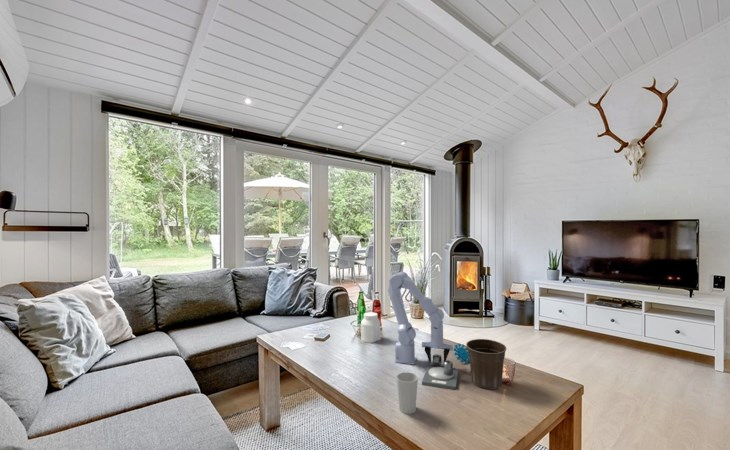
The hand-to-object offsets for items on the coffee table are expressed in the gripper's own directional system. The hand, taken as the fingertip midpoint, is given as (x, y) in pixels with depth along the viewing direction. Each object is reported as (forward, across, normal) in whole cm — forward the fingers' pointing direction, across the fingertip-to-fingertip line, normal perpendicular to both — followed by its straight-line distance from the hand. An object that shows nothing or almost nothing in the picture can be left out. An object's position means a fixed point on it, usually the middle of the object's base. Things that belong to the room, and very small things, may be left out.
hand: (437, 363), depth 160 cm
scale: (+1, +3, -12) cm, 12 cm away
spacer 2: (-1, +6, -11) cm, 12 cm away
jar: (+2, -42, +25) cm, 49 cm away
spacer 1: (+2, 0, 0) cm, 2 cm away
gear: (+2, +12, +11) cm, 16 cm away
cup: (+2, -6, -40) cm, 40 cm away
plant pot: (+2, +22, -10) cm, 24 cm away
